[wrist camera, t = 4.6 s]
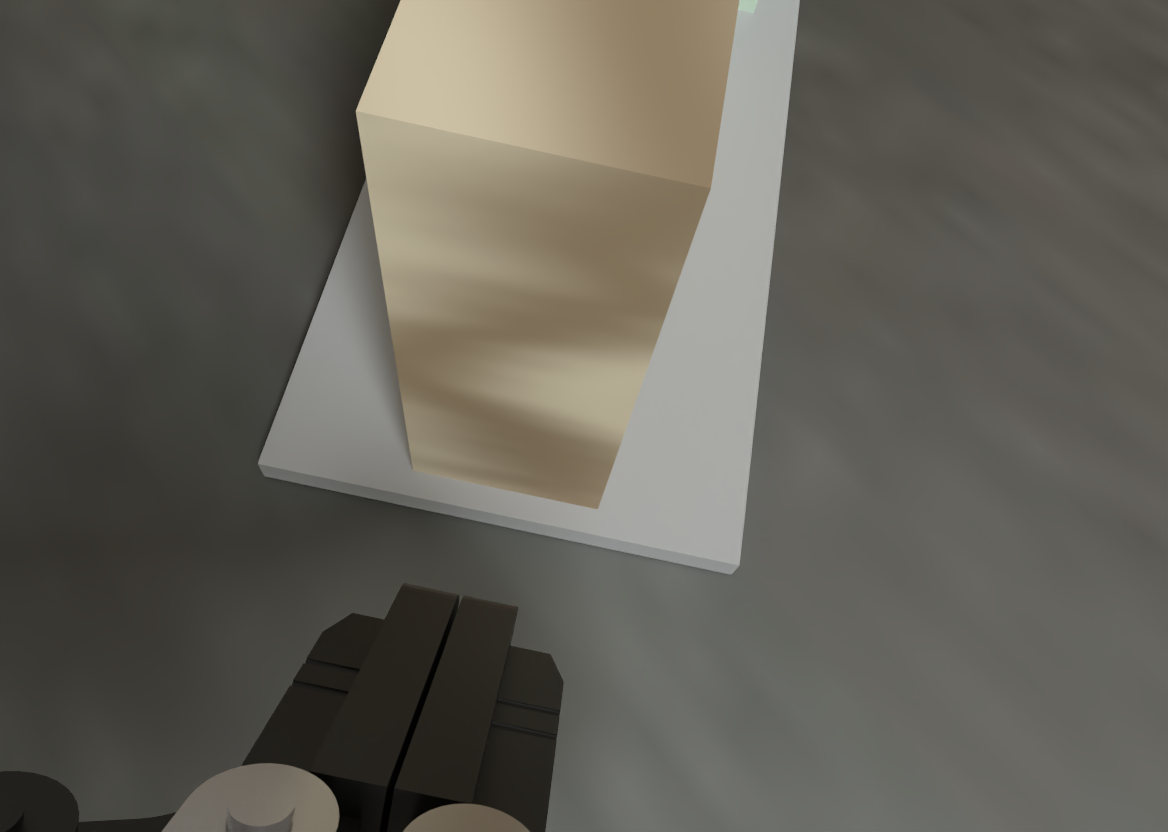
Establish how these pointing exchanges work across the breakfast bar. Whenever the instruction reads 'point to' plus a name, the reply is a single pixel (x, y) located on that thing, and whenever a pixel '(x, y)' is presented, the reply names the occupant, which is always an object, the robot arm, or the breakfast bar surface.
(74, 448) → the breakfast bar surface
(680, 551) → the board
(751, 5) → the end cap
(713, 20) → the tan wooden block
